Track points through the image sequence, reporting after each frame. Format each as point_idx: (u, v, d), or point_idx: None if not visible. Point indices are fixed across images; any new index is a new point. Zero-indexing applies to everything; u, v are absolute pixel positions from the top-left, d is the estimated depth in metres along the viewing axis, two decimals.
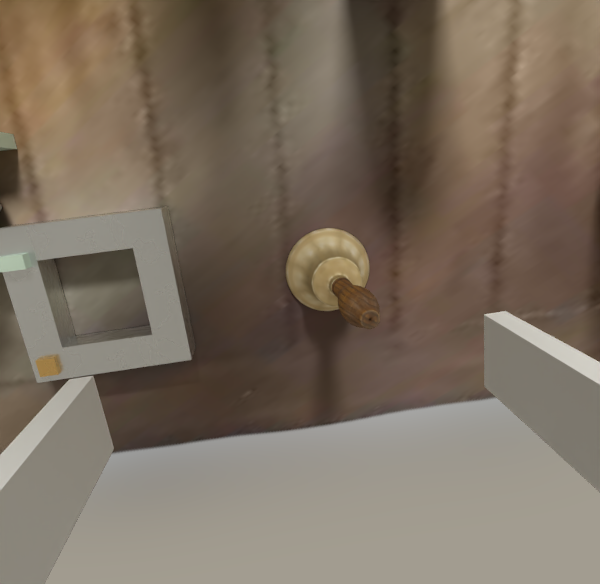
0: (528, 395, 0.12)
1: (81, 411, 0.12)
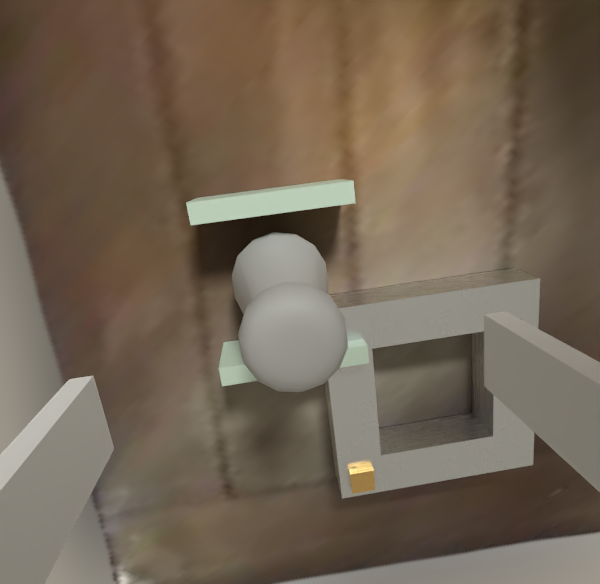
0: (528, 395, 0.12)
1: (81, 412, 0.12)
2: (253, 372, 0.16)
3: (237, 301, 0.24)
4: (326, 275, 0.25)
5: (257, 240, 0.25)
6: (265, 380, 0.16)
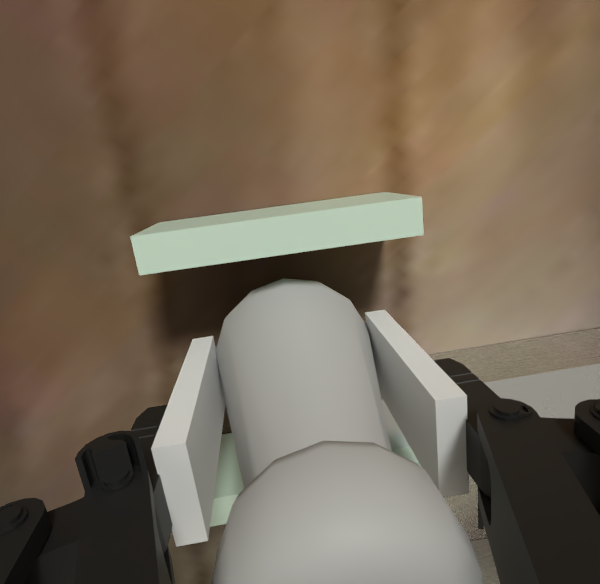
0: (387, 384, 0.14)
1: (212, 363, 0.14)
2: None
3: (224, 396, 0.15)
4: None
5: (257, 295, 0.15)
6: None
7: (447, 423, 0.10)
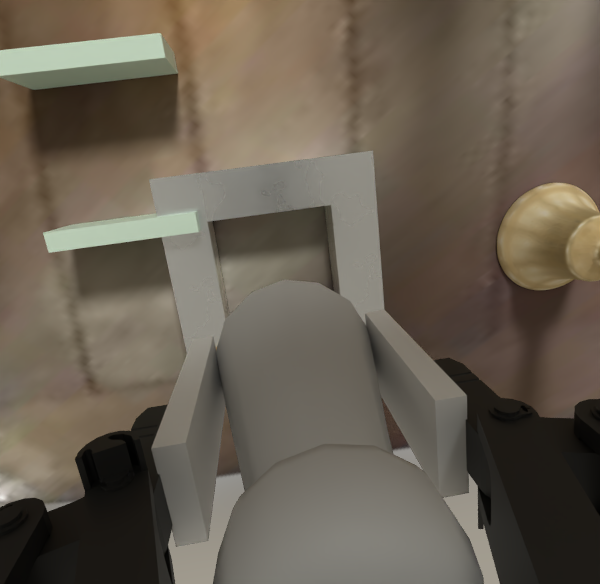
0: (387, 384, 0.14)
1: (212, 363, 0.14)
2: None
3: (224, 398, 0.15)
4: None
5: (257, 296, 0.15)
6: None
7: (447, 423, 0.10)
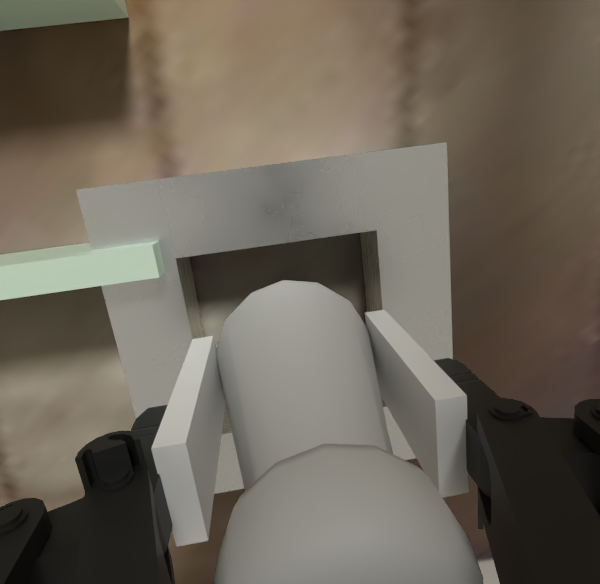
0: (387, 384, 0.14)
1: (212, 363, 0.14)
2: None
3: (224, 398, 0.15)
4: None
5: (257, 296, 0.15)
6: None
7: (447, 423, 0.10)
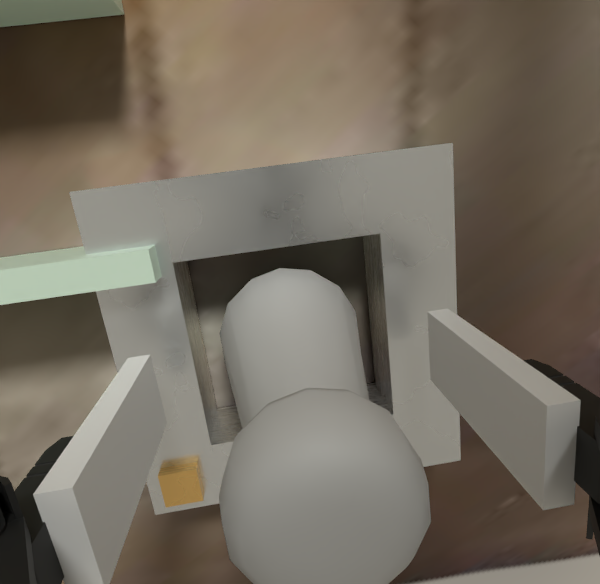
0: (460, 386, 0.13)
1: (143, 385, 0.13)
2: (248, 577, 0.08)
3: (228, 372, 0.17)
4: None
5: (256, 282, 0.17)
6: None
7: (557, 430, 0.09)
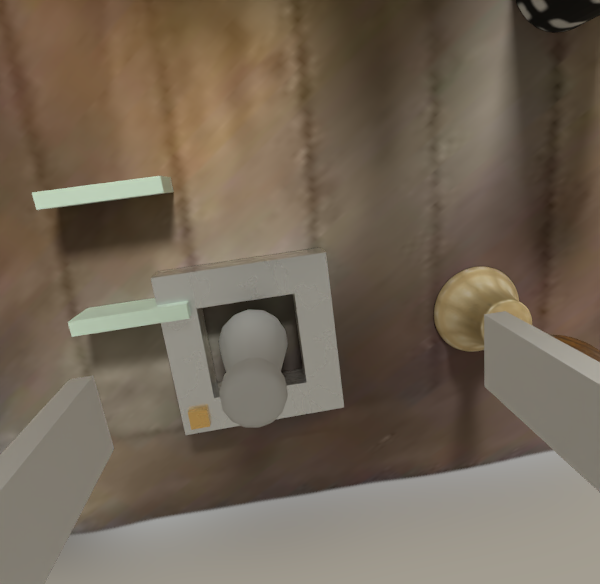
0: (528, 395, 0.12)
1: (81, 412, 0.12)
2: (228, 416, 0.26)
3: (222, 360, 0.35)
4: (285, 339, 0.36)
5: (236, 316, 0.35)
6: (236, 421, 0.26)
7: None
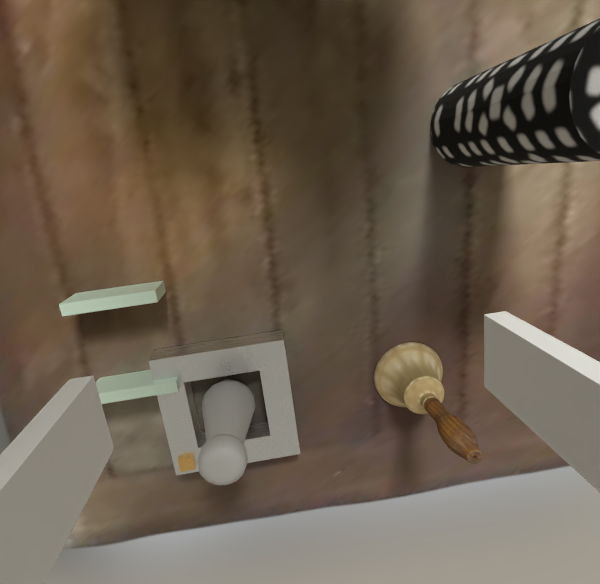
0: (527, 395, 0.12)
1: (81, 412, 0.12)
2: (204, 478, 0.37)
3: None
4: (253, 404, 0.46)
5: (214, 387, 0.45)
6: (209, 481, 0.37)
7: None
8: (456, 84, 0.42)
